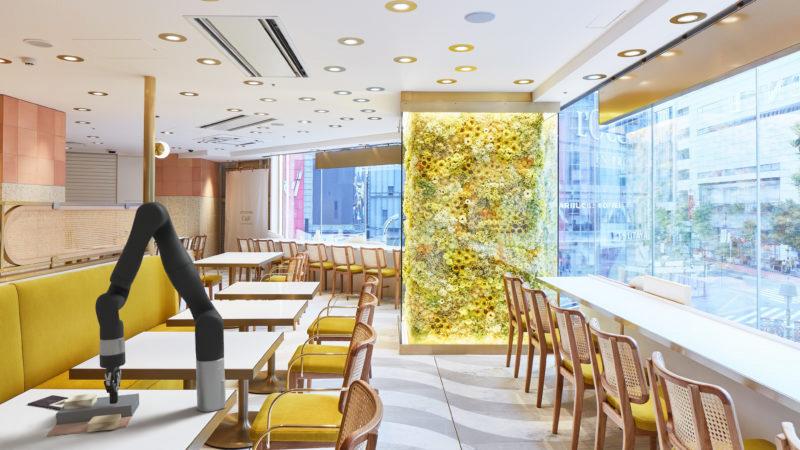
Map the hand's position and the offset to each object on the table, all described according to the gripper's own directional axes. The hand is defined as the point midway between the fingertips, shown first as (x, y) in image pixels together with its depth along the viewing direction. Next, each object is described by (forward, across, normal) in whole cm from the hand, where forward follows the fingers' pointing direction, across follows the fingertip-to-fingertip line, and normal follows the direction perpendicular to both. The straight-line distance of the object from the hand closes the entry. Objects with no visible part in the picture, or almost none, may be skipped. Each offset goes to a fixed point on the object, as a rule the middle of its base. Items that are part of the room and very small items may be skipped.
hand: (113, 402), depth 171 cm
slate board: (+5, +5, +6) cm, 9 cm away
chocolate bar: (+6, +22, +24) cm, 33 cm away
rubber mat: (+5, -6, +5) cm, 9 cm away
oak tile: (+3, -8, +1) cm, 9 cm away
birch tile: (0, +4, +11) cm, 12 cm away
